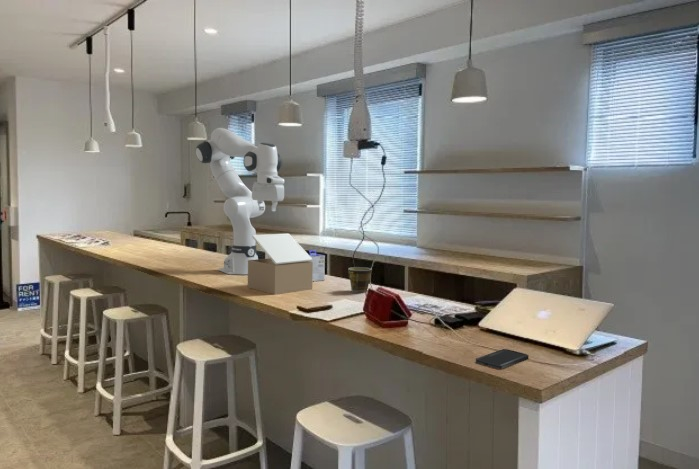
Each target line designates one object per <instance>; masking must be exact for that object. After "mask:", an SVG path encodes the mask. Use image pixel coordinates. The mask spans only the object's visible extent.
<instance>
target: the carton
mask: <svg viewBox="0 0 699 469" xmlns="http://www.w3.org/2000/svg"><path fill="white" fill-rule="evenodd" d="M312 272H313V262H310V261H306V262H295V263H285V264H275V263H274V262H273V261H272V260H271V258H270V257H268V258H258V259H257V260H248V274H247V288H248V287H249V288H248V289H252V290H256V291H259V292H263V293H268V294H272V295H280V294H288V293H296V292H302V291H308V290H309V291H310V290H313V281H312Z"/></svg>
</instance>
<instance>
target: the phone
mask: <svg viewBox="0 0 699 469" xmlns="http://www.w3.org/2000/svg"><path fill="white" fill-rule="evenodd" d="M528 359H529V354H528V353H523V352H519V351H515V350H512V349H507V348H502V349H499V350H497V351H494V352H491V353H488V354H486V355H482V356H479V357H477V358H475V363H476V362H477V363H476V364H480V365H482V364H483V365H482V366H486V367H489V366H490V368H493V369H495V370H496V369H497V370H503V369H505V368H508V367H510V366H513V365H516V364H519V363H521V362H523V361H525V360H528Z"/></svg>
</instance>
